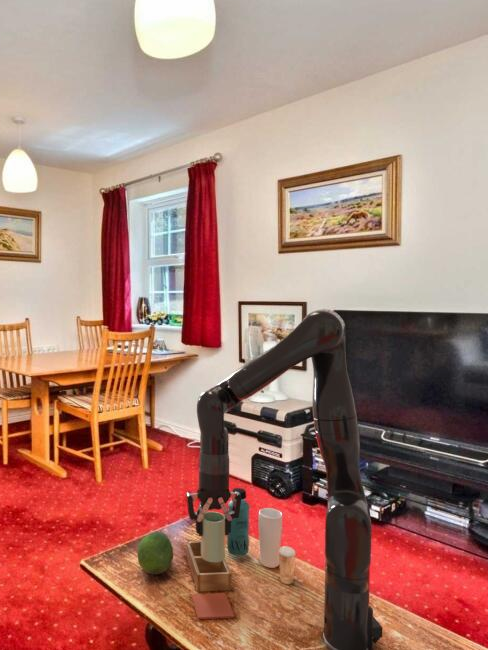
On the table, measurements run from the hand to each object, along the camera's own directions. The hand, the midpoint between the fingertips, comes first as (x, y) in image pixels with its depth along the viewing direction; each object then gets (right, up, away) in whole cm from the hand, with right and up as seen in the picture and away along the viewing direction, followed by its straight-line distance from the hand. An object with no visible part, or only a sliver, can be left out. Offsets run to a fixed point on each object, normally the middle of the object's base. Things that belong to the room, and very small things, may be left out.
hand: (213, 533), depth 123 cm
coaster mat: (0, -18, 0) cm, 18 cm away
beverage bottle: (+11, -18, +24) cm, 31 cm away
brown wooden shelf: (0, -18, +15) cm, 23 cm away
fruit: (-14, -18, +17) cm, 28 cm away
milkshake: (+22, -18, +11) cm, 30 cm away
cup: (0, -6, 0) cm, 6 cm away
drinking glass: (+19, -18, +19) cm, 33 cm away
